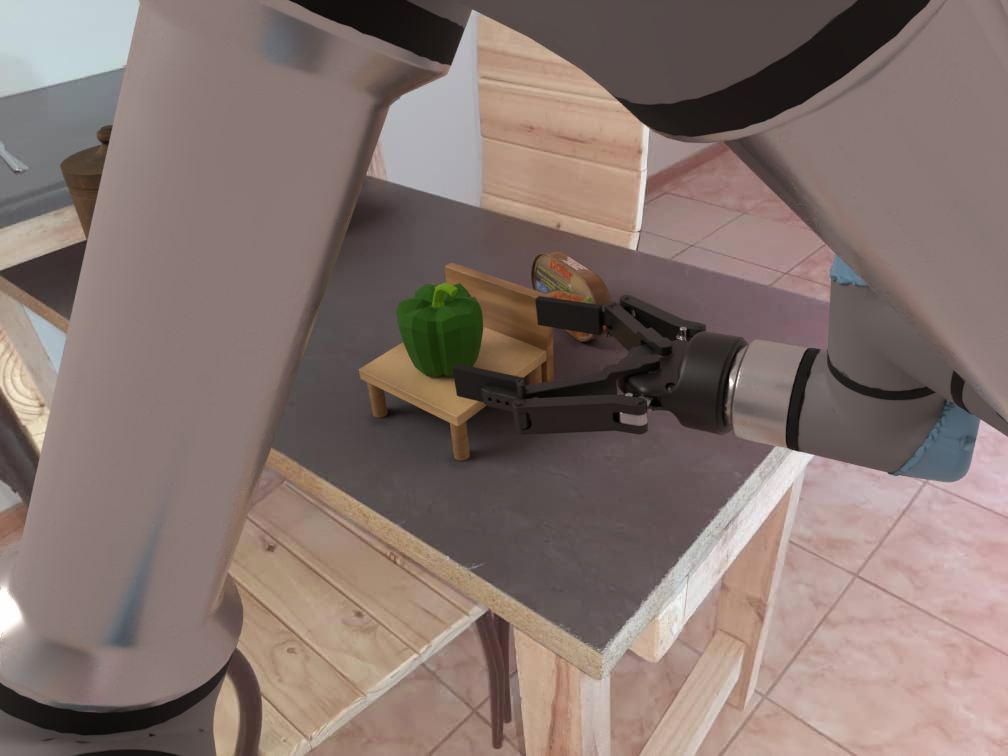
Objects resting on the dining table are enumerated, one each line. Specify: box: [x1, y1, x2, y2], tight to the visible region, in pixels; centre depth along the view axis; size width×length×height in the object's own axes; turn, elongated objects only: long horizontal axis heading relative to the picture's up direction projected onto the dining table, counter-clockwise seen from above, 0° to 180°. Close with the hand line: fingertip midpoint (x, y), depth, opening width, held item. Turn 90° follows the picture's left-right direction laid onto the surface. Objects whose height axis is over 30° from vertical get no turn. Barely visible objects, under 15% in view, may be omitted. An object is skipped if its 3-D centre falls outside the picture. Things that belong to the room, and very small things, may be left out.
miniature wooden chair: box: [358, 262, 555, 462], centre depth 82 cm, size 15×14×12 cm
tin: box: [530, 250, 612, 343], centre depth 95 cm, size 15×3×8 cm, turn 28°
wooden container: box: [59, 124, 113, 242], centre depth 110 cm, size 15×15×22 cm
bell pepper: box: [395, 282, 483, 377], centre depth 78 cm, size 8×8×10 cm
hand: (500, 342), depth 69 cm, fingers open, 13 cm apart
